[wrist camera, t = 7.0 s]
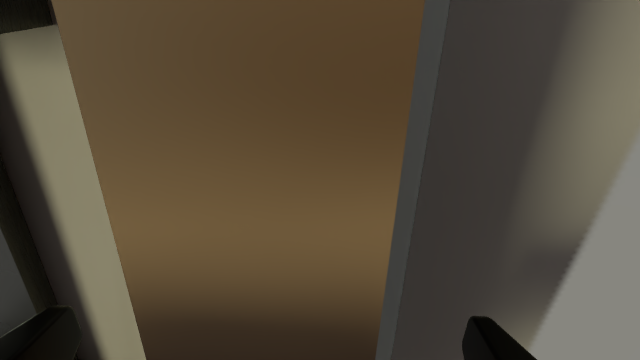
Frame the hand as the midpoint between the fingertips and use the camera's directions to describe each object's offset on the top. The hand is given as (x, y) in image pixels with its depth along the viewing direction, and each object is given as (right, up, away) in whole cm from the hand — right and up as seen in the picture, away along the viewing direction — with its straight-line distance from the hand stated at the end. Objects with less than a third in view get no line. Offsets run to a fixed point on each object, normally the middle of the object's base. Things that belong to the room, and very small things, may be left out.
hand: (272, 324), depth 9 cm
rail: (0, +1, +2) cm, 2 cm away
